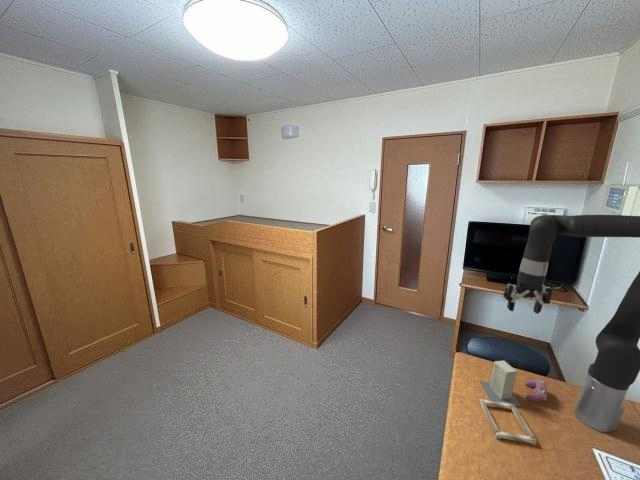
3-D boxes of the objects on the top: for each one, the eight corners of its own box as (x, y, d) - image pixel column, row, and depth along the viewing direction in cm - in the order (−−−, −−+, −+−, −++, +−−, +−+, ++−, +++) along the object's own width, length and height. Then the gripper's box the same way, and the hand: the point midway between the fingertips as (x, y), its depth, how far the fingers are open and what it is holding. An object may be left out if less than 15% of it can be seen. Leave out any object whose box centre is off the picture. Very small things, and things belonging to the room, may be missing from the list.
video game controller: (536, 408, 96) (551, 399, 93) (524, 398, 98) (538, 388, 95) (535, 390, 104) (549, 381, 100) (523, 381, 106) (537, 372, 102)
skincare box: (511, 399, 97) (518, 372, 94) (500, 399, 97) (507, 372, 94) (498, 385, 103) (504, 360, 100) (488, 386, 103) (494, 360, 100)
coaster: (506, 385, 104) (507, 384, 104) (520, 407, 95) (521, 405, 94) (480, 381, 106) (480, 380, 106) (491, 402, 96) (491, 401, 96)
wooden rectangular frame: (512, 408, 94) (513, 404, 93) (535, 445, 81) (537, 440, 81) (478, 403, 96) (479, 399, 95) (495, 438, 83) (497, 434, 83)
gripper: (548, 268, 95) (538, 308, 99) (505, 265, 97) (497, 304, 101) (562, 276, 88) (551, 318, 92) (516, 273, 90) (507, 314, 94)
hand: (523, 311), depth 97 cm, fingers open, 8 cm apart
